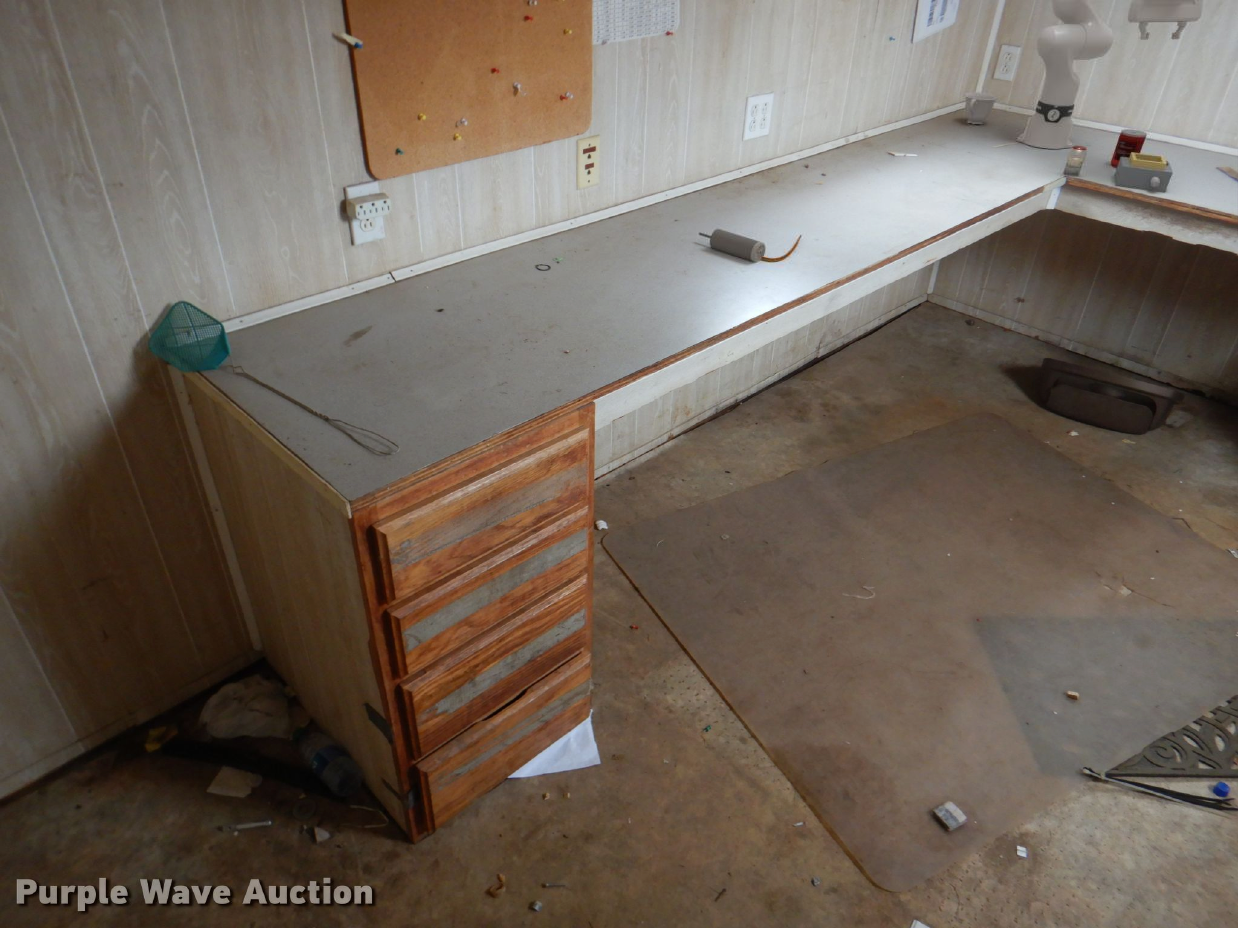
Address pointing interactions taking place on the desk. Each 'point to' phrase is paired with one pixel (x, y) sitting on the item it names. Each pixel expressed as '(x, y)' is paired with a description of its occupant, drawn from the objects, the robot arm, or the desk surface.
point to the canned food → (1128, 144)
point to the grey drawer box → (1143, 172)
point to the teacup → (978, 106)
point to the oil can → (1075, 160)
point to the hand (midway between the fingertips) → (1159, 39)
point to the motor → (742, 246)
